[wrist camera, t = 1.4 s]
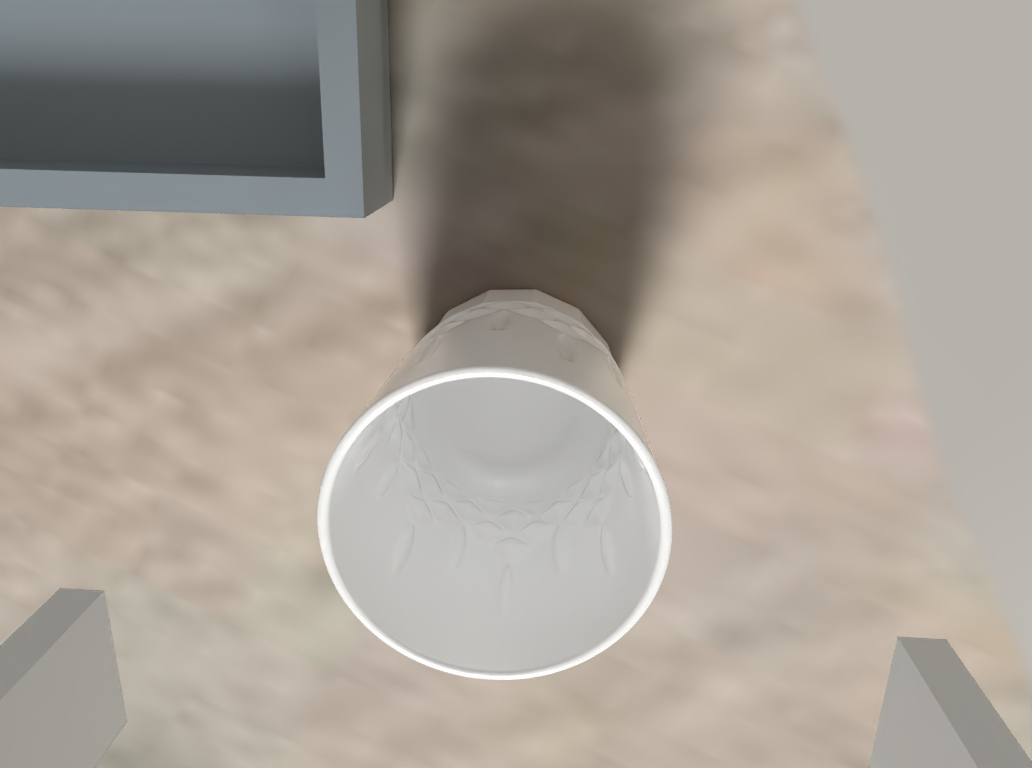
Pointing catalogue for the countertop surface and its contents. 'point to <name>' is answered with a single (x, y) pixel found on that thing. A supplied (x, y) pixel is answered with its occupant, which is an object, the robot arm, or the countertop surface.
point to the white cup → (498, 496)
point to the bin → (196, 106)
